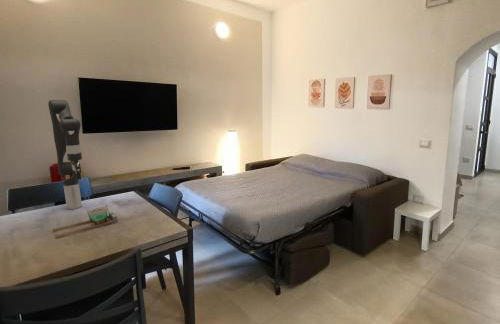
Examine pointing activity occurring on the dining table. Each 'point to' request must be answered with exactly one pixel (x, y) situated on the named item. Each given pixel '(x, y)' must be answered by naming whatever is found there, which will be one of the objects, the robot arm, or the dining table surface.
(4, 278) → the dining table surface
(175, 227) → the dining table surface
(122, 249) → the dining table surface
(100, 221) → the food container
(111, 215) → the guide channel
